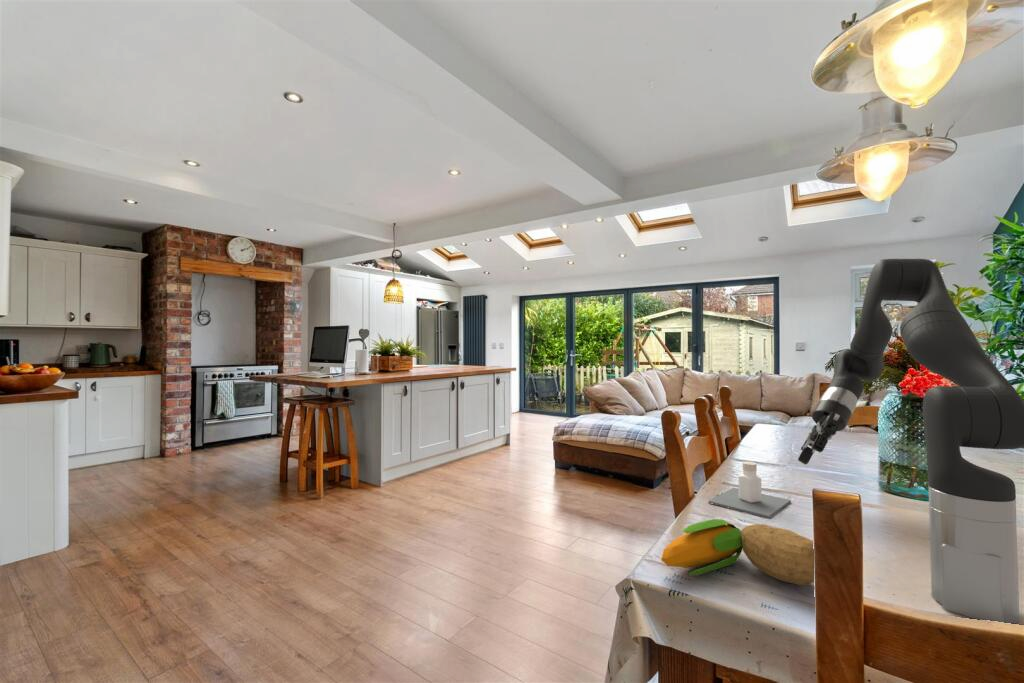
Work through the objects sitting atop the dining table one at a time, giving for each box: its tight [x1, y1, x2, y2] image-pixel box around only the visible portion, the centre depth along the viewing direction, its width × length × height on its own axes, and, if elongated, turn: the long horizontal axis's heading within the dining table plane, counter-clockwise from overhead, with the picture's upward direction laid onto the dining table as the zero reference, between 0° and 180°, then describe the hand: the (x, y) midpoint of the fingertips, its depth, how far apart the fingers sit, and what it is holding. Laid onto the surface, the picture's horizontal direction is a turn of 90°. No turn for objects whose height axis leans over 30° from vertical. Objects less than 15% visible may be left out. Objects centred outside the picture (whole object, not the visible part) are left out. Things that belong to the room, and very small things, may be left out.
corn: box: [660, 519, 743, 576], centre depth 79 cm, size 7×8×20 cm
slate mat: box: [708, 487, 792, 519], centre depth 112 cm, size 16×14×1 cm
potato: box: [740, 523, 815, 586], centre depth 75 cm, size 10×14×8 cm
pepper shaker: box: [737, 461, 762, 503], centre depth 112 cm, size 4×4×10 cm
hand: (809, 456), depth 108 cm, fingers open, 8 cm apart
